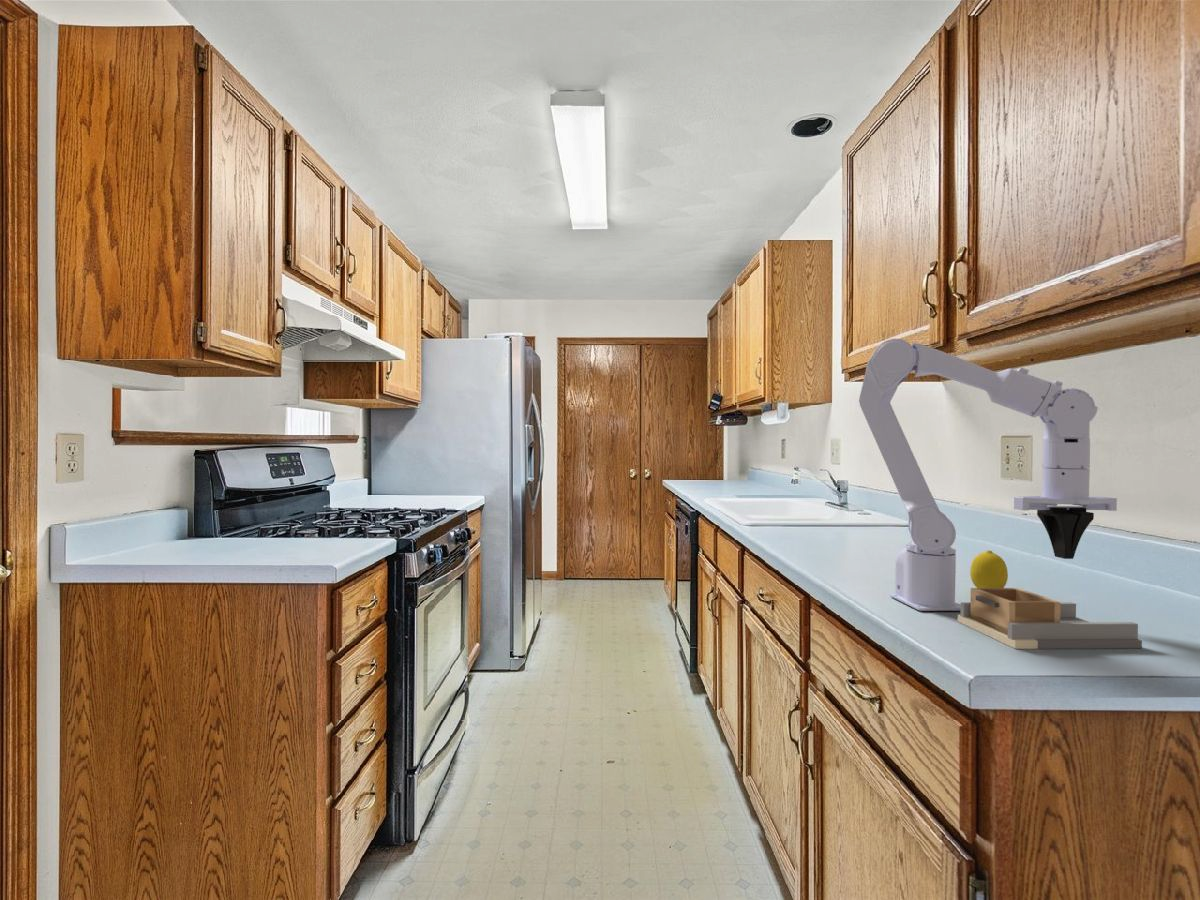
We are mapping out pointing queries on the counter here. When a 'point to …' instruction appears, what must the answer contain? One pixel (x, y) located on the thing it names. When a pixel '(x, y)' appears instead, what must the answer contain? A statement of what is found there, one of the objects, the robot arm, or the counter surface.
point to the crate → (1011, 607)
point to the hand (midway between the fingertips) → (1063, 557)
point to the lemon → (988, 571)
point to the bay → (1059, 632)
